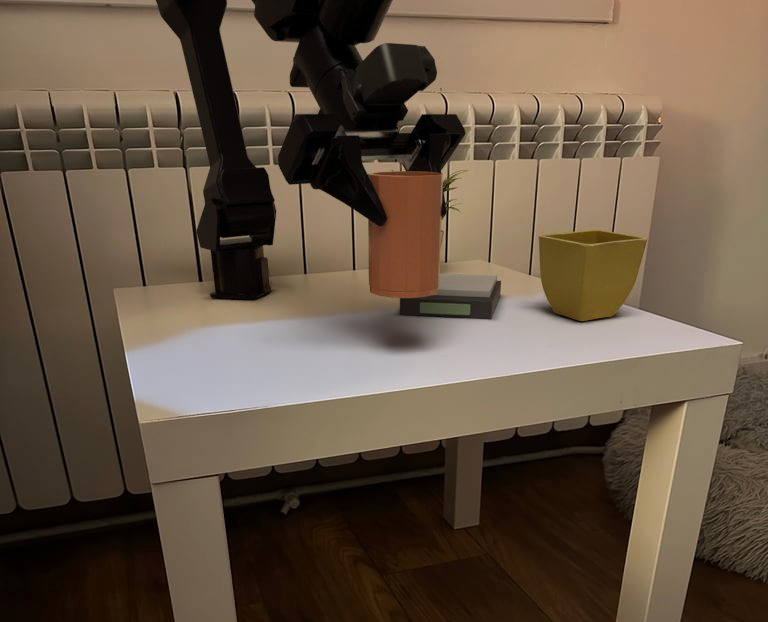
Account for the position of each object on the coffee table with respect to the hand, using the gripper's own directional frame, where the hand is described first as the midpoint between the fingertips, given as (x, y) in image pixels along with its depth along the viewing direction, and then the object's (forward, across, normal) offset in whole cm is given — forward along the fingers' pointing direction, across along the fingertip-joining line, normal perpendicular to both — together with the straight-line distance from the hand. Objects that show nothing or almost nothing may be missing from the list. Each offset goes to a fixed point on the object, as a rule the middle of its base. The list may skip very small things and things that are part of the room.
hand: (413, 220), depth 67 cm
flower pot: (+10, +26, +8) cm, 29 cm away
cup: (+4, 0, +6) cm, 7 cm away
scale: (-1, +18, +18) cm, 25 cm away
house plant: (-13, +28, +31) cm, 43 cm away
